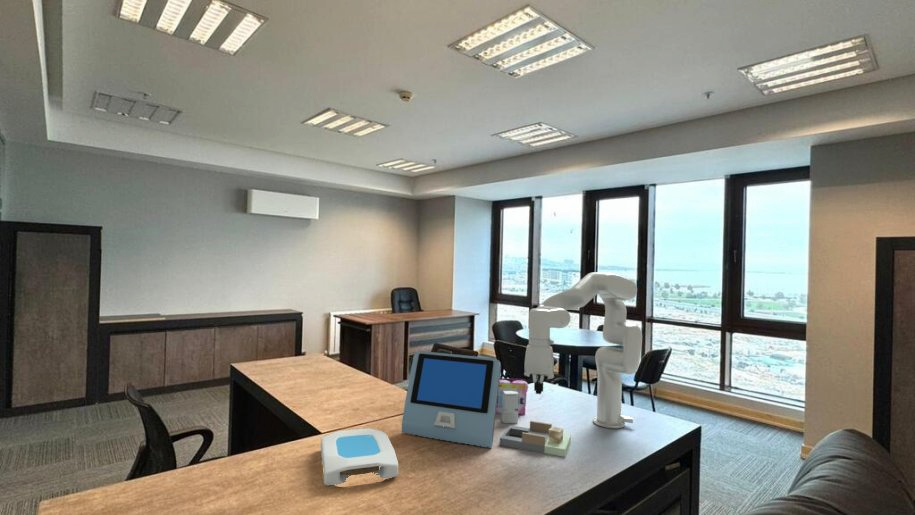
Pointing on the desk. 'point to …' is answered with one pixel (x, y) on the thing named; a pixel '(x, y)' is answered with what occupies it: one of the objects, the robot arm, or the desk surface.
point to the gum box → (513, 385)
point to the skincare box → (510, 407)
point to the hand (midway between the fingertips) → (538, 393)
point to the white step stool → (357, 454)
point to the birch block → (555, 435)
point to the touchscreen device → (452, 398)
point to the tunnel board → (534, 439)
